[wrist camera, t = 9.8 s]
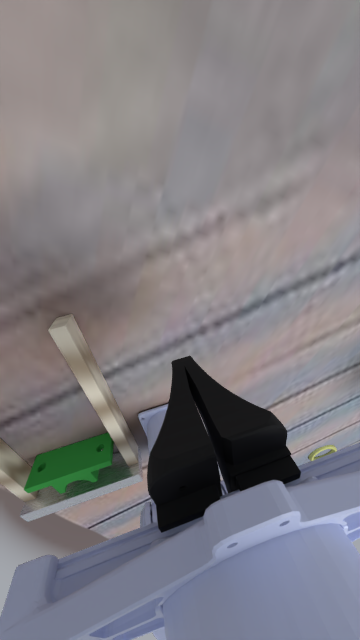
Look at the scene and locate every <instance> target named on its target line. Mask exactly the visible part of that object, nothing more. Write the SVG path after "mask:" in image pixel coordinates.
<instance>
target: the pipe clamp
mask: <svg viewBox="0 0 360 640" xmlns="http://www.w3.org/2000/svg"><path fill="white" fill-rule="evenodd" d="M113 443H114V441H113V439H112V438H111V436H110V434H109V433H105V434H102V435H99V436H95V437H92V438H89V439H86V440H83V441H80V442H77V443H74V444H71V445H68V446H65V447H61V448H58V449H55V450H52V451H49V452H46V453H43V454H40V455H37V456H36V459H35V461H34V464H33V466H32V469H31V472H30V474H29V477H28V480H27V482H26V485H25V487H24V491H26V492H27V493H31V492H34V491H37V490H40V489H43V488H46V487H49V486H52V487H53V488H54V489H55V490H57V491H58V492H59V493H60V494H62V493H65V492H66V489H67V485H68V484H69V483H71V482H73V481H77V480H88V481H91V482H92V483H93V482H96V481H98V473H99V469H102V468H105V467H107V466H110V465H112V458H113ZM103 448H104V449H103ZM102 449H103V450H102ZM101 450H102V451H101Z"/></svg>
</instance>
